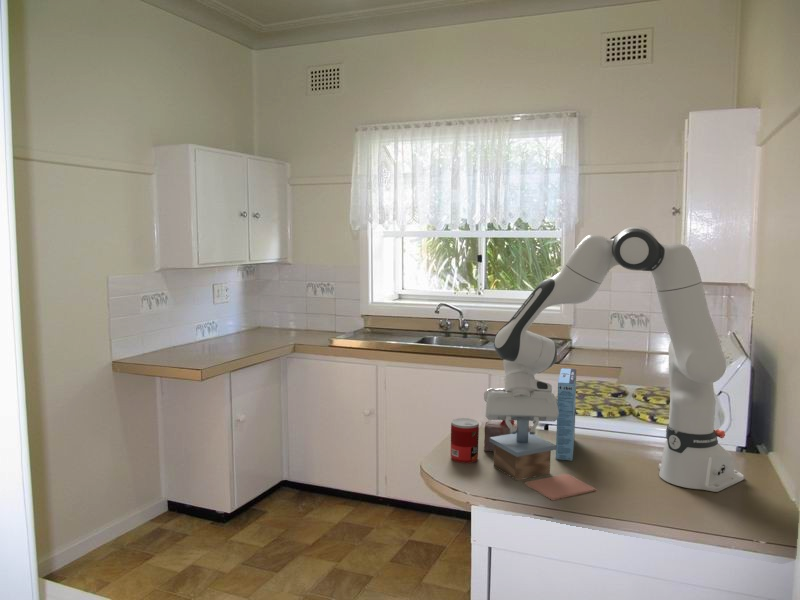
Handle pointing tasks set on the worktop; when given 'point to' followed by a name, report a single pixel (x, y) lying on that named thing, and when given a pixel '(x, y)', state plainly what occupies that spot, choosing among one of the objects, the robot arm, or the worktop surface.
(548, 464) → the crate
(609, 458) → the worktop surface
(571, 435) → the blue box
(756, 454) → the worktop surface
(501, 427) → the food item
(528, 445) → the lid
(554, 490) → the mat
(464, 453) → the canned food
